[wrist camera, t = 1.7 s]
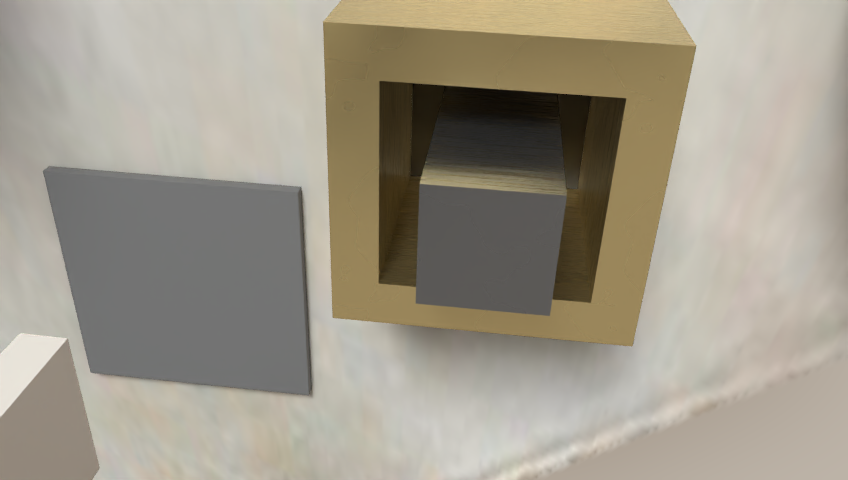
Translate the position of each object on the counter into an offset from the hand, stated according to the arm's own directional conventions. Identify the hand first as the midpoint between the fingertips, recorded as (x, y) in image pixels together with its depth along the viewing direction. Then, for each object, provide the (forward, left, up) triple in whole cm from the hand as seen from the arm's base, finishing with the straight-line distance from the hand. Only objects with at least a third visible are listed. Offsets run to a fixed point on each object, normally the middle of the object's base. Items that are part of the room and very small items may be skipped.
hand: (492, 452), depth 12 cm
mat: (-11, -8, -15) cm, 20 cm away
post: (0, 0, -15) cm, 15 cm away
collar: (0, 0, -15) cm, 15 cm away
